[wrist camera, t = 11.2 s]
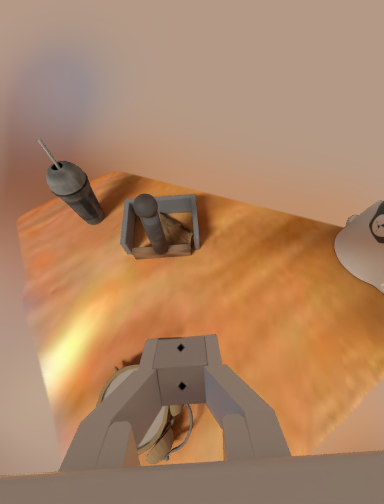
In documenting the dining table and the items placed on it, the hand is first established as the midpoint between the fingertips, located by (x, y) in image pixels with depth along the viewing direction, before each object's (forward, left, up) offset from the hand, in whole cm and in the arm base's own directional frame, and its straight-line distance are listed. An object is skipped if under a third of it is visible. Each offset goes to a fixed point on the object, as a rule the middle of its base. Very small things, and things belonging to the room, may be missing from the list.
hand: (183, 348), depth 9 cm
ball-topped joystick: (+6, -20, -31) cm, 38 cm away
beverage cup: (+23, -32, -32) cm, 51 cm away
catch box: (+6, -27, -31) cm, 42 cm away
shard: (+4, -25, -32) cm, 41 cm away
